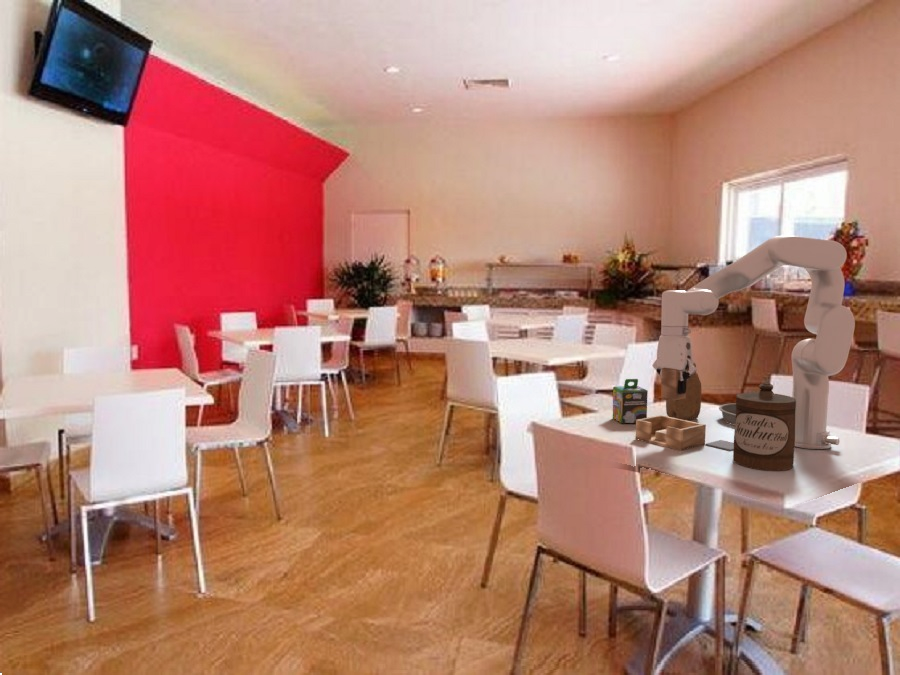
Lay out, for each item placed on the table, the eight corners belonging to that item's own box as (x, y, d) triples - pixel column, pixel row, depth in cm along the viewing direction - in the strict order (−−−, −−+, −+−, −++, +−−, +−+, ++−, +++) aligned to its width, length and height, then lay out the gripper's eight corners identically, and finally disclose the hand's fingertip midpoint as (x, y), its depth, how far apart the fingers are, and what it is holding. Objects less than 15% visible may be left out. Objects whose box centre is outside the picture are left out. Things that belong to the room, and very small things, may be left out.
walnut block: (685, 398, 204) (686, 368, 203) (675, 400, 201) (675, 370, 200) (671, 395, 208) (671, 366, 207) (661, 397, 205) (661, 368, 204)
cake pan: (703, 420, 237) (703, 407, 237) (746, 412, 250) (746, 400, 250) (768, 434, 217) (769, 420, 216) (811, 425, 230) (812, 412, 229)
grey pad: (745, 446, 201) (745, 445, 201) (730, 450, 196) (730, 449, 196) (720, 441, 207) (720, 439, 207) (705, 445, 202) (705, 443, 202)
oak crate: (704, 444, 203) (705, 424, 202) (680, 450, 196) (681, 430, 195) (659, 433, 216) (660, 415, 215) (635, 439, 209) (636, 419, 208)
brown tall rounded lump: (672, 420, 234) (674, 363, 232) (663, 416, 242) (665, 360, 240) (702, 420, 235) (705, 363, 233) (693, 415, 243) (695, 360, 241)
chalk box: (636, 417, 239) (638, 376, 237) (647, 423, 230) (649, 380, 228) (611, 418, 238) (612, 376, 236) (621, 424, 229) (622, 380, 227)
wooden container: (726, 464, 183) (730, 383, 180) (741, 452, 194) (745, 376, 192) (786, 474, 174) (791, 389, 171) (798, 462, 185) (803, 382, 183)
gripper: (707, 332, 198) (706, 394, 200) (658, 329, 212) (657, 387, 213) (692, 334, 194) (690, 397, 195) (643, 330, 207) (642, 390, 209)
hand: (673, 391), depth 204 cm, fingers closed on walnut block, 5 cm apart
